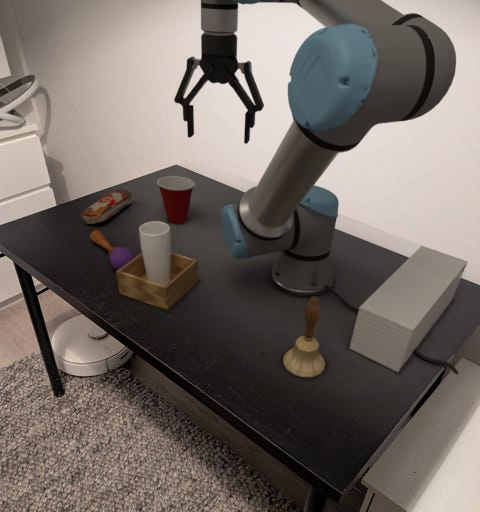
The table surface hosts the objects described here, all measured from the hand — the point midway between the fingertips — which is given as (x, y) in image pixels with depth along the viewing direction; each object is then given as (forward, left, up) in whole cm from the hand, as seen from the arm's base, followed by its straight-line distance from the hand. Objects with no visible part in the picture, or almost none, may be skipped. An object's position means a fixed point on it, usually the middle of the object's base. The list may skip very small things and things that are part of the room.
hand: (218, 139), depth 107 cm
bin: (+3, +24, -29) cm, 38 cm away
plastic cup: (+18, -8, -29) cm, 35 cm away
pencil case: (+38, -1, -29) cm, 48 cm away
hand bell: (-37, +32, -29) cm, 57 cm away
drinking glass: (+3, +24, -28) cm, 37 cm away
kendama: (+21, +19, -29) cm, 40 cm away
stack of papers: (-52, +9, -29) cm, 60 cm away
